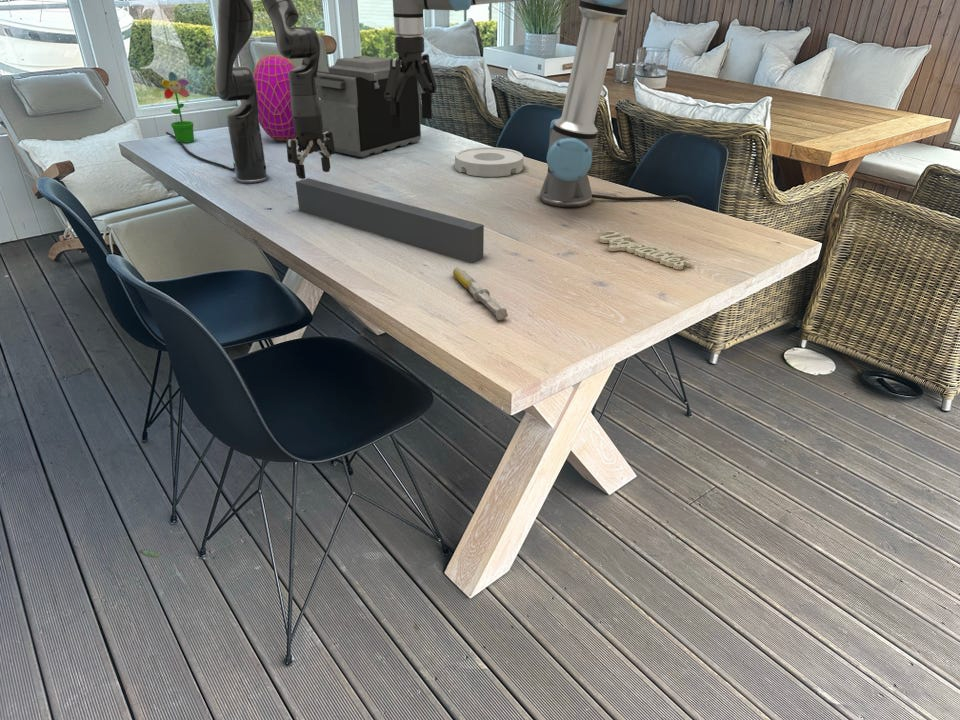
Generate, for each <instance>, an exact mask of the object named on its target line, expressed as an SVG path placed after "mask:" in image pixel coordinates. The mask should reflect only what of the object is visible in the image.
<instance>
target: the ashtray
mask: <svg viewBox="0 0 960 720" xmlns="http://www.w3.org/2000/svg"><path fill="white" fill-rule="evenodd" d="M524 159H525V158H524V155H523V153H522V152H520V151H517V150H514V149H510V148H505V147H504V148H503V147H493V146H492V147H491V146H486V147H485V146H484V147H483V146H481V147H480V146H479V147H471V148H465V149H461V150H459V151H457V152H455V154H454V168H455V170H456V171H457V172H459V173H466V175H467V176H474V177H483V178H490V177H491V178H498V177H507V176H511V174H519V173H520V172H522V171H523V169H524Z"/></svg>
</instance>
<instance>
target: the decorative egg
mask: <svg viewBox="0 0 960 720" xmlns="http://www.w3.org/2000/svg"><path fill="white" fill-rule="evenodd" d="M295 68H296V66H295V65H294V63H293V62H292V61H291V59H287V58H285V57H284V56H282V55H281V54H268V55H265V56H262V57H261V58H260V59H259V60H258V61H257V62H256V65H255V68H254V69H253V70H254V71H252V73H253V75H254V78H255V83H256V91H257V103H258V111H259V125H260V128H262V130H263V131H264V133H266V135H267V136H268V137H270V138H271V139H273V140H275V141H282V142H286V140H287V139H291V140H293V139H296V132H295V131H294V125H293V117H292V109H291V94H290V86H289V77H288V75H289V72H290V71H291V70H293V69H295Z"/></svg>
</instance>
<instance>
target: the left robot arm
mask: <svg viewBox="0 0 960 720" xmlns="http://www.w3.org/2000/svg"><path fill="white" fill-rule="evenodd" d="M260 1H261V3H262V5H263V8H264V9H265V12H266V14H267V15H268V18H269V19H270V22H271V26H272V28H273V34H274V38H275V44H276V48H277V50H278V52H279V54H280V56H283V57H285V58H287V59H288V60H297V59H302V60H301V63H300V65H299V66H298V67H295V69H293V70H291V71H290V72H289V75H288V77H289V86H290V94H291V109H292V117H293V125H294V131H295V132H296V137H295V138H293V139H287V140H286V141H285V143H286V144H285V145H286V155H287V162H288V163H290V164H294V166H295V172H296V176H297V177H298V179H300V180H303V179H306V171H305V165H304V162H305V160H306V158H308V156H309V154H313V153H318V154H319V155H320V156H321V157H320V160H321V169H322V170H321V171H322V172H324V173H329V172H330V171H331V160H330V159H331V156H332V155H335V154H336V152H335V148H334V141H333V135H332V132H328V131H324V132H323V133H322V131H323V121H322V111H321V103H320V98H319V94H318V84H317V71H319V63H320V55H321V49H322V48H321V47H322V46H321V39H320V36H319V34H318V32H317V30H316V29H315V28H313V27H311V26H296V24H297V23H298V21H299V19H300V14H299V11H298V8H297V6H296V4H295V2H294V0H260ZM254 19H255V8H254V4H253V1H252V0H217V49H216V61H215V69H214V85H215V86H214V87H215V91H216V94H217V96H218V98H219V99H220V100H222V101H223V102H236V101H241V102H240V104H239V105H238V107H237V108H235V109H233V110H231V111H230V112H228V113H227V114H226V122H227V127H228V133H229V140H230V146H231V152H232V157H233V161H232V164H233V167H229V166H227V165H225V164H223V163H220V162H216V161H212V160H209V159H206V158H203V157H200V156H199V155H197V154H195V153H193V152H191V150H189V149H188V148H187V147H186V146H185V145H184V143H182V142H181V141H178V142H177V143H179V145H180V146H181V147H182V148H183V149H184V151H186V153H188V154H189V155H190V156H192V157H194V158H196V159H198V160H200V161H202V162H206V163H207V164H211V165H214V166H218V167H222V168H224V169H226V170H228V171H233V172H234V171H235V174H236V181H237V183H238V182H239V183H242V184H255V183H256V184H257V183H262V182H265V181H267V180H268V174H267V173H268V172H267V164H266V158H265V152H264V146H263V139H262V138H263V137H262V132H261V125H260V123H259V111H258V103H257V91H256V83H255V78H254V75H253V71H252V69H251V68H250V67H248V66H245V65H240V66H234V64H235V61H236V60H237V57H238V55H239V54H240V52H241V51H242V50H243V48H244V47H245V46H246V45H247V43H248V41H249V40H250V38H251V36H252V34H253V31H254ZM294 26H295V27H294ZM165 134H166V135H168V136H170V137H172V138H174V139H175V140H176V137H175V134H173V133H171V132H169V131H166V132H165ZM323 139H324V143H325V146H324V143H322V142H323Z"/></svg>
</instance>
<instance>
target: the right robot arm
mask: <svg viewBox="0 0 960 720" xmlns="http://www.w3.org/2000/svg"><path fill="white" fill-rule="evenodd" d="M517 1H518V2H519V1H521V0H392V13H393V15H392V16H393V34H394V35H396V36H394V39H393V41H394V51H395V53H397V55H398V58H389V59H390V71H389V75H388V80H387V84H386V89H385V93H384V99H386V100H388V101H390V109H391V114H392V127H397V128H402V112H401V101H398V100H399V98H400V95H401V93H402V90H403V88H404V85H405V83H406V80H407V79H408V78H409V77H410V76H412V75H415V77H416V79H417V81H418V85H419V86H420V88H421V90H422V91H423V92H421V119H426V120H432V119H433V112H432V111H433V110H432V109H433V108H432V103H433V97H432V96H433V94H435V93H436V90H437V87H438V86H437V82H436V79H435V76H434V73H433V70H432V66H431V62H430V55H429V54H428V53H424V52H425V38H424V36H423V35H424V34H425V22H424V10H427V11H430V10H433V11H454V12H460V11H468V10H469V9H471V6H478V5H479V6H480V5H489V4H498V3H509V2H517ZM630 2H631V0H579V5H578V9H579V11H580V13H581V15H582V20H581V24H580V30H579V34H578V38H577V42H576V47H575V52H574V57H573V61H572V66H571V71H570V75H569V80H568V83H567V84H568V86H567V90H566V93H565V98H564V103H563V107H562V113H561V116H560V117H559V118H555V119H552V120H551V122H550V127H549V141H548V142H549V143H548V148H547V153H546V164H547V173H546V176H545V178H544V181H543V184H542V187H541V189H540V192H539V200H540V202H542V203H543V204H546V205H549V206H553V207H558V208H559V207H560V208H580V207H584V206H588V205H589V204H591V203H592V199H602V200H609V201H622V202H623V201H624V202H625V201H626V202H627V201H629V202H630V201H632V202H633V201H673V200H687V201H689V202H690V203H691V204H696V201H695V200H694V199H693V198H692V197H690V196H689V195H684V194H681V195H672V196H671V195H670V196H610V195H604V194H594V193H592V188H591V184H590V179H589V171H590V169H591V167H592V164H593V152H594V148H595V144H596V141H597V140H596V139H597V135H598V132H599V130H598V128H597V127H596V124H595V120H596V116H597V111H598V108H599V102H600V99H601V95H602V90H603V86H604V82H605V77H606V74H607V69H608V66H609V61H610V57H611V53H612V50H613V44H614V42H615V41H614V40H615V36H616V32H617V28H618V24H619V23H620V22H621V21H622V20H623V19H625V18H626V16H627V14H628V9H629V6H630ZM389 94H390V95H389ZM395 95H396V96H395Z"/></svg>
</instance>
